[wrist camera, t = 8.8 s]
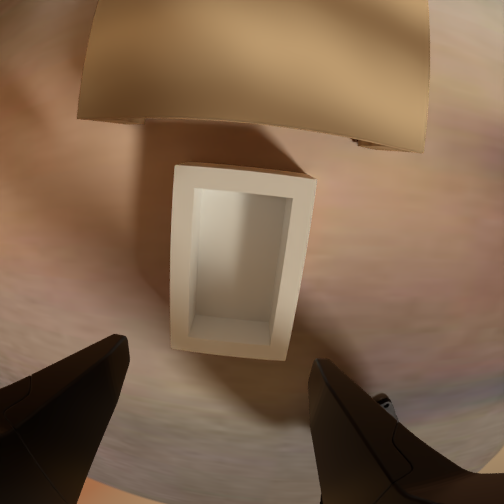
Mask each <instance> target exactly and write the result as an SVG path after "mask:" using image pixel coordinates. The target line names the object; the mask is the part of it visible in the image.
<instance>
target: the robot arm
mask: <svg viewBox="0 0 504 504" xmlns="http://www.w3.org/2000/svg"><path fill="white" fill-rule="evenodd" d="M129 362H130V355H129V347H128V340H127V337H126V336H124V335H119V334H113V335H111V336H109V337H107V338H105V339H103V340H101V341H99V342H97V343H95V344H93V345H91V346H89V347H86V348H84V349H82V350H80V351H78V352H76V353H74V354H72V355H70V356H68V357H66V358H64V359H62V360H60V361H58V362H56V363H54V364H52V365H50V366H48V367H46V368H44V369H42V370H40V371H38V372H36V373H34V374H32V375H31V376H28V377H25V378H23V379H21V380H19V381H17V382H15V383H13V384H10V385H8V386H6V387H3V388H1V389H0V504H77V501H78V498H79V496H80V493H81V490H82V488H83V485H84V482H85V480H86V477H87V475H88V472H89V470H90V467H91V464H92V462H93V459H94V457H95V455H96V452H97V450H98V447H99V445H100V442H101V440H102V437H103V435H104V433H105V430H106V428H107V426H108V423H109V421H110V419H111V416H112V414H113V412H114V409H115V407H116V404H117V402H118V399H119V396H120V392H121V389H122V386H123V382H124V379H125V376H126V373H127V369H128V366H129ZM308 391H309V411H310V428H311V435H312V440H313V446H314V452H315V458H316V464H317V470H318V476H319V482H320V488H321V502H320V504H504V473H498V474H497V473H495V474H480V473H473V472H470V471H467V470H465V469H463V468H461V467H459V466H458V465H456V464H455V463H453V462H452V461H450V460H449V459H447V458H446V457H444V456H443V455H441V454H440V453H438V452H437V451H435V450H434V449H433V448H431V447H430V446H428V445H427V444H426V443H424V442H423V441H421V440H420V439H419V438H418V437H416V436H415V435H414V434H413V433H411V432H410V431H409V430H408V429H407V428H405V427H404V426H403V425H402V424H401V423H400V422H399V421H398V418H397V416H396V413H395V410H394V407H393V405H392V402H391V400H390V399H384V400H382V401H380V402H378V403H377V402H376V401H375V400H374V399H372V398H371V397H370V396H369V395H368V394H367V393H366V392H365V391H364V390H362V389H361V388H360V387H359V386H358V385H357V384H356V383H355V382H354V381H352V380H351V379H350V378H349V377H348V376H347V375H346V374H345V373H344V372H342V371H341V370H340V369H339V368H338V367H337V366H336V365H335V364H334V363H333V362H332V361H330V360H329V359H325V358H316V359H315V360H314V362H313V366H312V369H311V373H310V377H309V381H308Z"/></svg>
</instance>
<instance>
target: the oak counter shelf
mask: <svg viewBox="0 0 504 504" xmlns="http://www.w3.org/2000/svg"><path fill="white" fill-rule="evenodd" d="M429 79H430V29H429V9H428V0H98V3H97V7H96V11H95V15H94V19H93V23H92V27H91V32H90V36H89V41H88V46H87V51H86V56H85V61H84V67H83V73H82V80H81V87H80V94H79V103H78V112H77V119H83V120H93V121H102V122H111V123H119V124H145V118H170V119H197V120H215V121H228V122H240V123H251V124H260V125H269V126H278V127H285V128H293V129H300V130H306V131H313V132H319V133H325V134H331V135H336V136H342V137H347V138H352V139H357V140H358V146H361V147H366V148H370V149H375V150H387V151H402V152H414V153H423V152H424V144H425V135H426V125H427V114H428V99H429Z"/></svg>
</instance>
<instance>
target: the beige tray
mask: <svg viewBox="0 0 504 504" xmlns="http://www.w3.org/2000/svg"><path fill="white" fill-rule="evenodd" d="M316 186H317V179H315V178H313V177H311V176H309V175H307V174H305V173H297V172H290V171H282V170H274V169H265V168H256V167H247V166H237V165H226V164H215V163H202V162H186V163H181V164H177V165H175V168H174V182H173V199H172V219H171V248H170V333H171V349H176V350H183V351H190V352H197V353H205V354H213V355H222V356H231V357H241V358H252V359H264V360H278V361H286V356H287V351H288V346H289V342H290V337H291V332H292V327H293V322H294V317H295V312H296V306H297V301H298V296H299V290H300V285H301V279H302V274H303V268H304V262H305V257H306V251H307V245H308V239H309V232H310V226H311V220H312V213H313V207H314V200H315V193H316Z"/></svg>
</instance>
